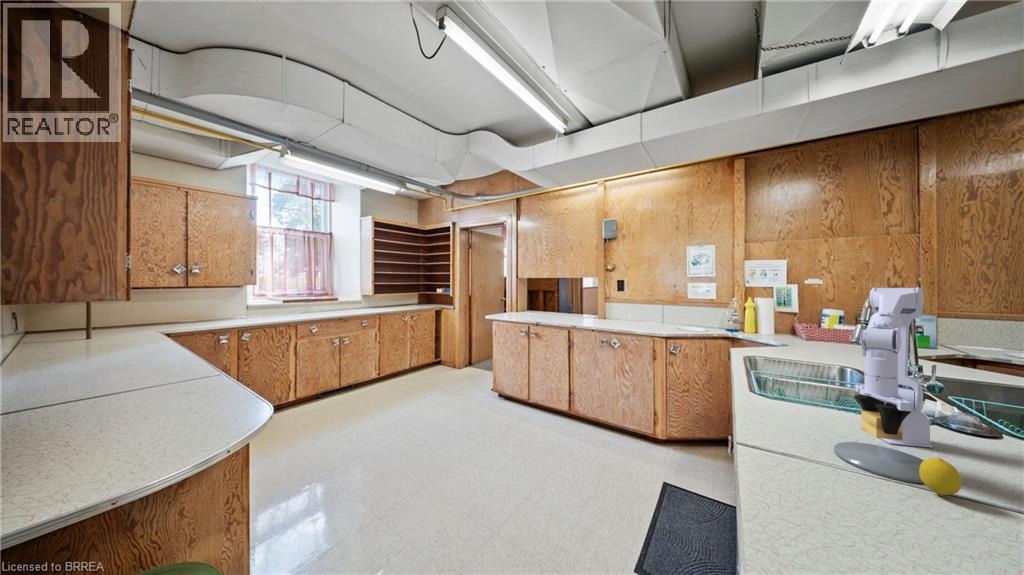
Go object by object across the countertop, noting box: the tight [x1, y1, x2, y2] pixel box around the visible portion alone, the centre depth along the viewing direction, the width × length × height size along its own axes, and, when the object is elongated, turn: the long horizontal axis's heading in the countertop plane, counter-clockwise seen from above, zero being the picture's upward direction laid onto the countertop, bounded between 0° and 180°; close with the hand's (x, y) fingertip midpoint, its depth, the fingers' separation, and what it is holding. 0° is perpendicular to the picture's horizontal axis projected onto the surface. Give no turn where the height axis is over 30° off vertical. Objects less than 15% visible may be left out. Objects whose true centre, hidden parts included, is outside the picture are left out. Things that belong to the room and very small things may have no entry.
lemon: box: [919, 457, 962, 497], centre depth 70 cm, size 6×6×8 cm
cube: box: [860, 410, 902, 440], centre depth 84 cm, size 5×5×5 cm
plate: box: [833, 441, 925, 484], centre depth 83 cm, size 18×18×1 cm
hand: (881, 429), depth 84 cm, fingers closed on cube, 5 cm apart
